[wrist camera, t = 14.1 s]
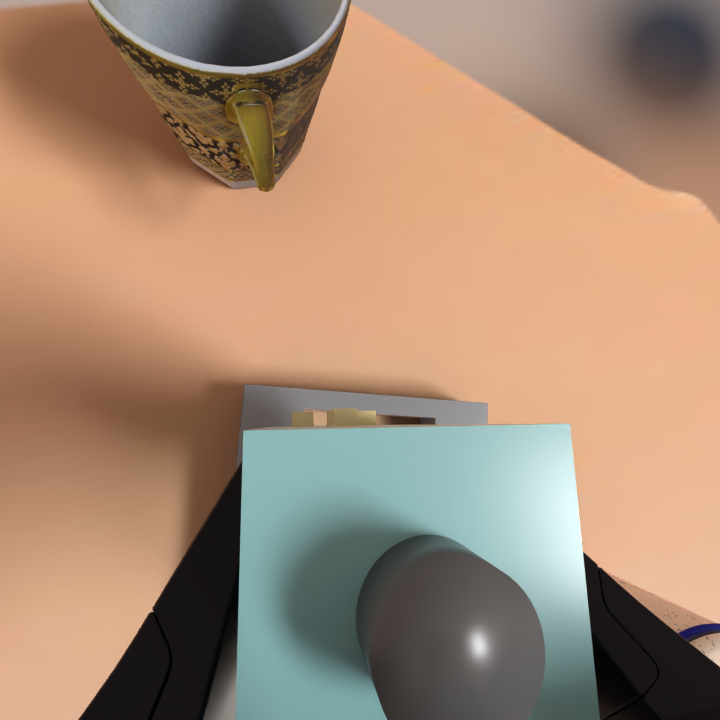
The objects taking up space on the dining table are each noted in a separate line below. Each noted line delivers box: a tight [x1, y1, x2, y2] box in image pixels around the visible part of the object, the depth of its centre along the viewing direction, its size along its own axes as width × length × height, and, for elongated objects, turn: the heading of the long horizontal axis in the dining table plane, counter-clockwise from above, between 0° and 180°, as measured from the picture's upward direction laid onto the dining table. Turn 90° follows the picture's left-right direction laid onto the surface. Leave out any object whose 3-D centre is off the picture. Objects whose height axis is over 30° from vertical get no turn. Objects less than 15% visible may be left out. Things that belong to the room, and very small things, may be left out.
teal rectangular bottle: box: [235, 408, 600, 720], centre depth 10 cm, size 5×4×12 cm
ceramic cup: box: [88, 0, 351, 192], centre depth 19 cm, size 13×10×10 cm
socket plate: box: [235, 384, 488, 471], centre depth 20 cm, size 19×13×2 cm
